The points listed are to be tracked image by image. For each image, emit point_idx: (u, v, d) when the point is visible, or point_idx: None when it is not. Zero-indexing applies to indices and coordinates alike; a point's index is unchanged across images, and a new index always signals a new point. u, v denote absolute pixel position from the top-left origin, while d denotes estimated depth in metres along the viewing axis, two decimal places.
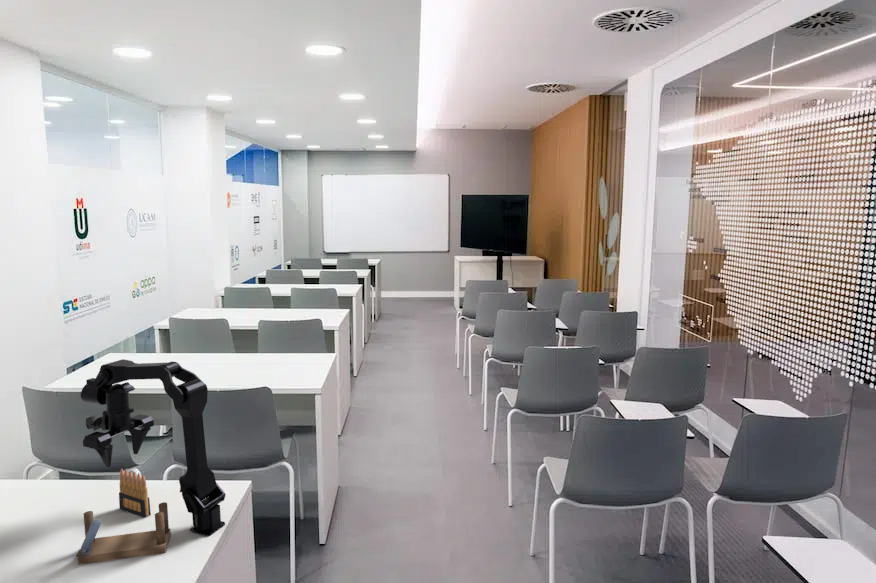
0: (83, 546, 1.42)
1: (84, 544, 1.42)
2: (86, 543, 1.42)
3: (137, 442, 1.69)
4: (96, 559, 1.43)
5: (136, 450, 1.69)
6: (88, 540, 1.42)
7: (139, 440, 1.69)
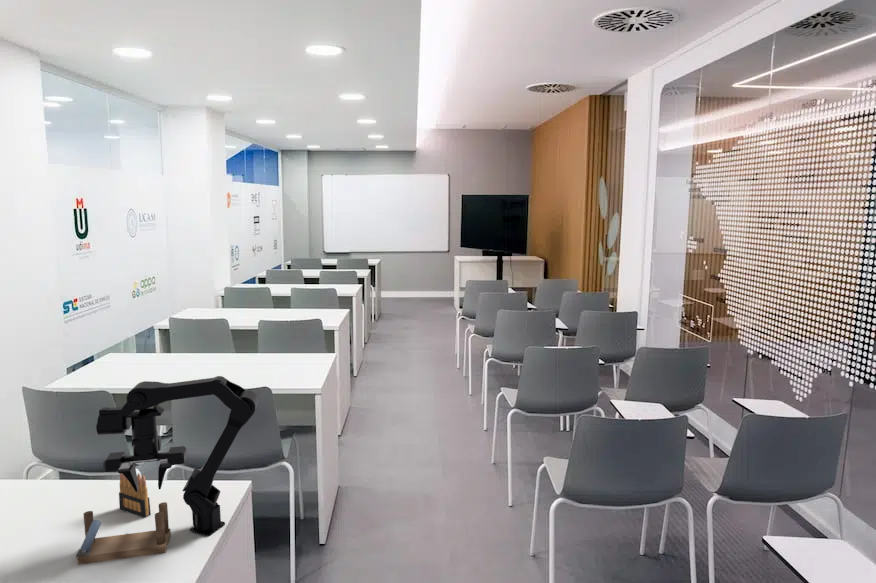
0: (83, 546, 1.42)
1: (84, 544, 1.42)
2: (86, 543, 1.42)
3: None
4: (96, 559, 1.43)
5: None
6: (88, 540, 1.42)
7: None
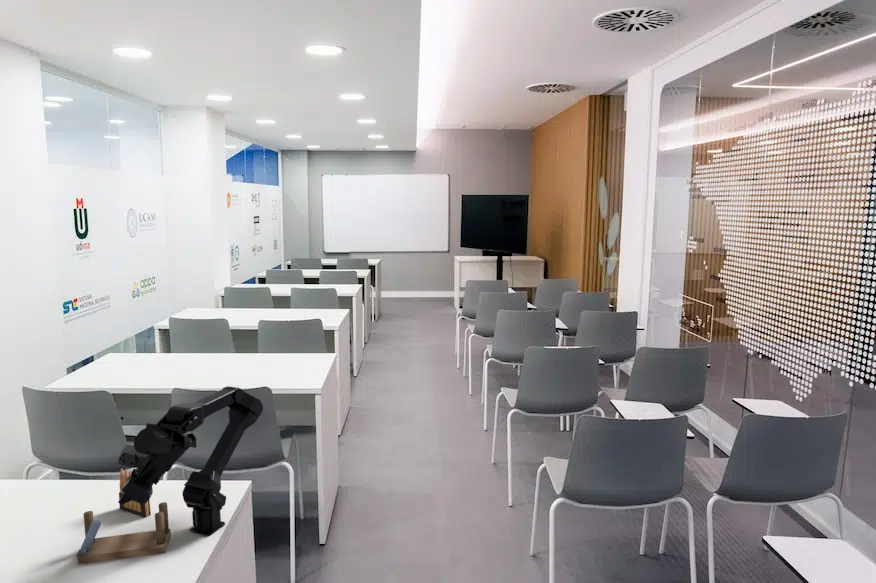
0: (83, 546, 1.42)
1: (84, 544, 1.42)
2: (86, 543, 1.42)
3: None
4: (96, 559, 1.43)
5: None
6: (88, 540, 1.42)
7: None
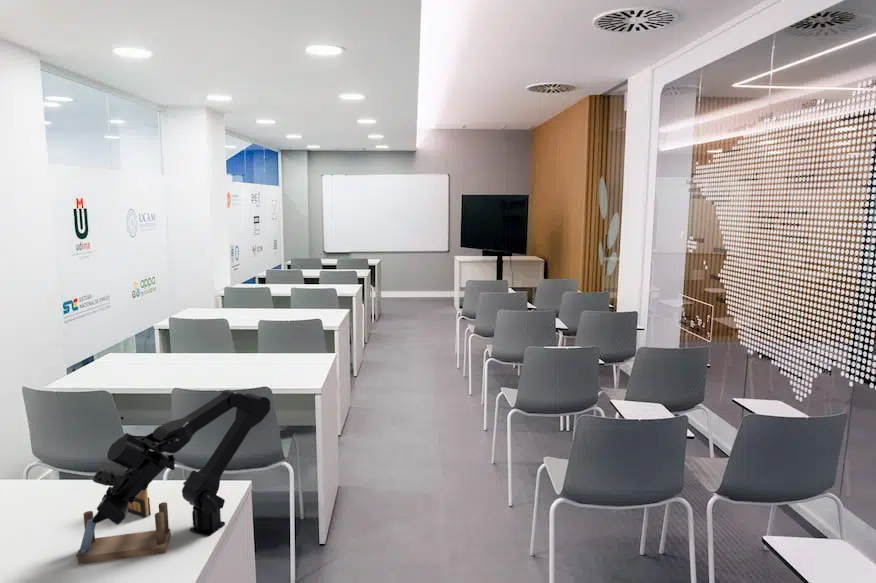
0: (82, 546, 1.42)
1: (83, 544, 1.42)
2: (84, 543, 1.42)
3: None
4: (96, 559, 1.43)
5: None
6: (86, 539, 1.42)
7: None
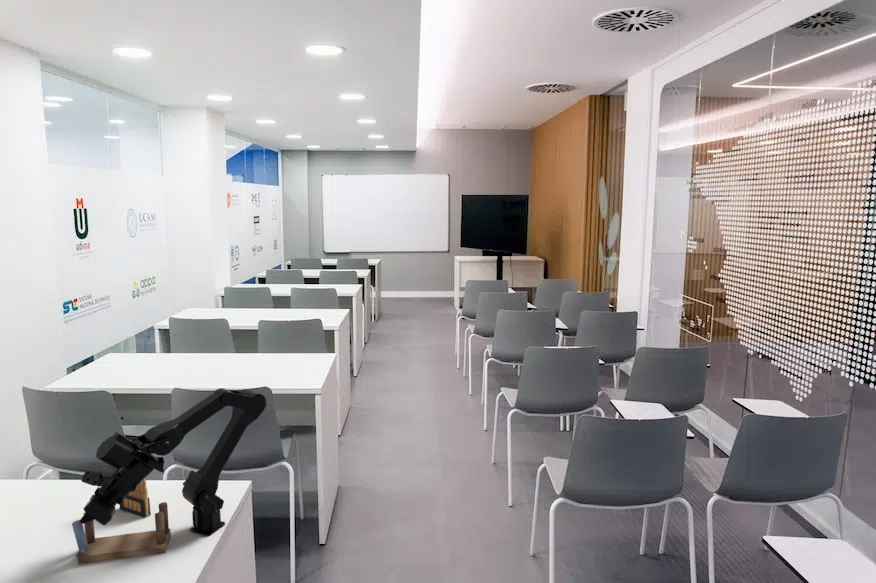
0: (79, 548, 1.42)
1: (78, 545, 1.42)
2: (79, 544, 1.42)
3: None
4: (96, 559, 1.43)
5: None
6: (79, 540, 1.42)
7: None
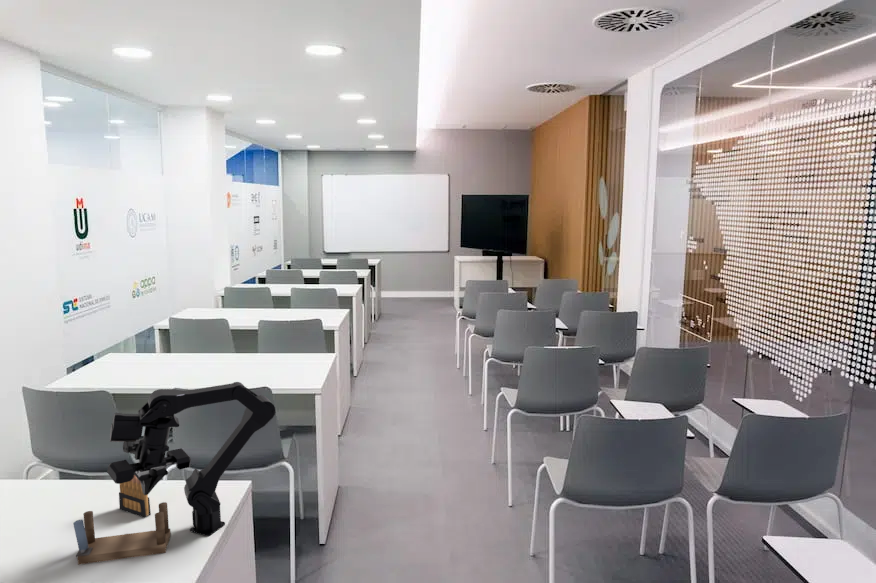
0: (79, 547, 1.42)
1: (79, 545, 1.42)
2: (80, 544, 1.42)
3: (150, 483, 1.52)
4: (96, 559, 1.43)
5: None
6: (79, 540, 1.42)
7: (152, 482, 1.51)
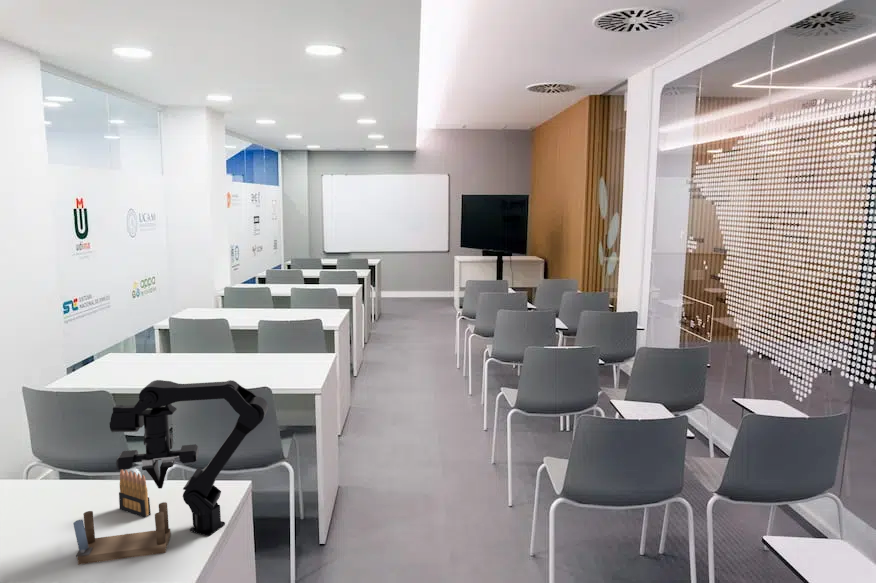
0: (79, 547, 1.42)
1: (79, 545, 1.42)
2: (80, 544, 1.42)
3: (160, 476, 1.54)
4: (96, 559, 1.43)
5: None
6: (79, 540, 1.42)
7: None
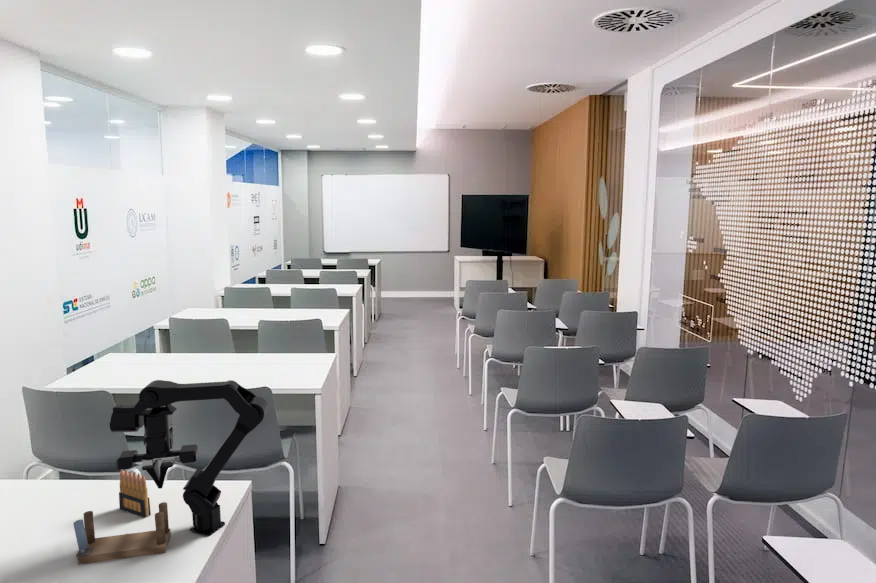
0: (79, 547, 1.42)
1: (79, 545, 1.42)
2: (80, 544, 1.42)
3: (160, 476, 1.54)
4: (96, 559, 1.43)
5: None
6: (79, 540, 1.42)
7: None
